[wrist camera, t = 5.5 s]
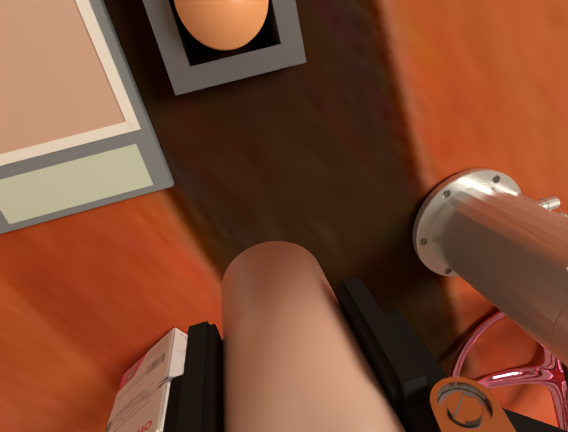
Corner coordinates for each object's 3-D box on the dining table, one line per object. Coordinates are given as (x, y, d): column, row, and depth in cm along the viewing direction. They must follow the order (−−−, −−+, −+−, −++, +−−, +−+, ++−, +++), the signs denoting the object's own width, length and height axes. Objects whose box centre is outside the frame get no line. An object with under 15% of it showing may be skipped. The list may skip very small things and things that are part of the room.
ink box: (155, 392, 39) (133, 513, 28) (120, 373, 37) (80, 495, 27) (208, 346, 38) (205, 454, 27) (174, 324, 36) (156, 431, 25)
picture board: (77, -66, 23) (70, -73, 22) (174, 182, 30) (172, 186, 29) (-193, -8, 21) (-215, -12, 20) (-22, 236, 29) (-31, 242, 28)
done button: (251, -58, 23) (255, -72, 21) (272, 40, 25) (277, 37, 23) (163, -38, 22) (157, -50, 20) (194, 59, 25) (191, 58, 23)
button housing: (268, -89, 24) (275, -109, 21) (297, 63, 28) (306, 62, 25) (128, -58, 23) (116, -75, 21) (179, 93, 27) (175, 95, 25)
